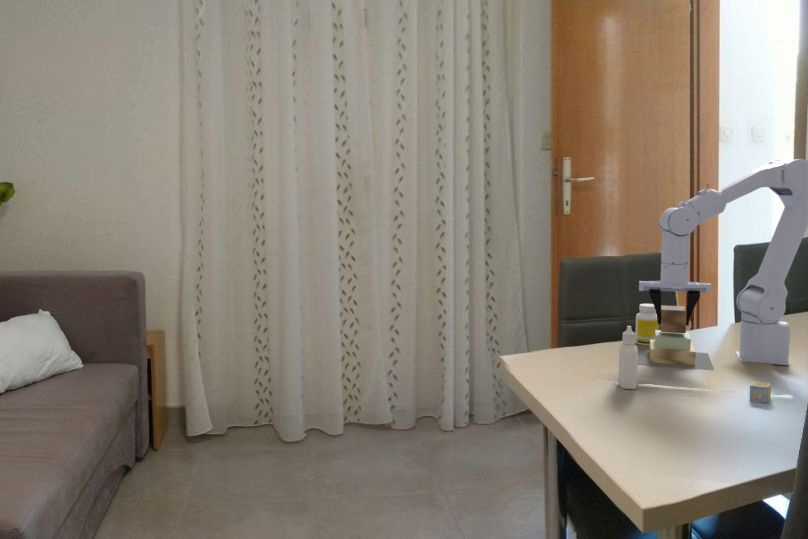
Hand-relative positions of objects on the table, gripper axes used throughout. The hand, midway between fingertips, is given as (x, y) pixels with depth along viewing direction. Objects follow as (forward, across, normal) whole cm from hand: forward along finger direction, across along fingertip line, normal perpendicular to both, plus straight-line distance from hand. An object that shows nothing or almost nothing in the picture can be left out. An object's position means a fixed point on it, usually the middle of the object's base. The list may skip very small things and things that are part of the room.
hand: (672, 323), depth 146 cm
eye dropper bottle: (+9, -9, -21) cm, 24 cm away
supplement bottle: (+9, -5, +14) cm, 17 cm away
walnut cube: (+1, 0, 0) cm, 1 cm away
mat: (+8, 0, 0) cm, 8 cm away
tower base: (+8, 0, 0) cm, 8 cm away
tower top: (+5, 0, 0) cm, 5 cm away
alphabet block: (+9, +14, -23) cm, 28 cm away
